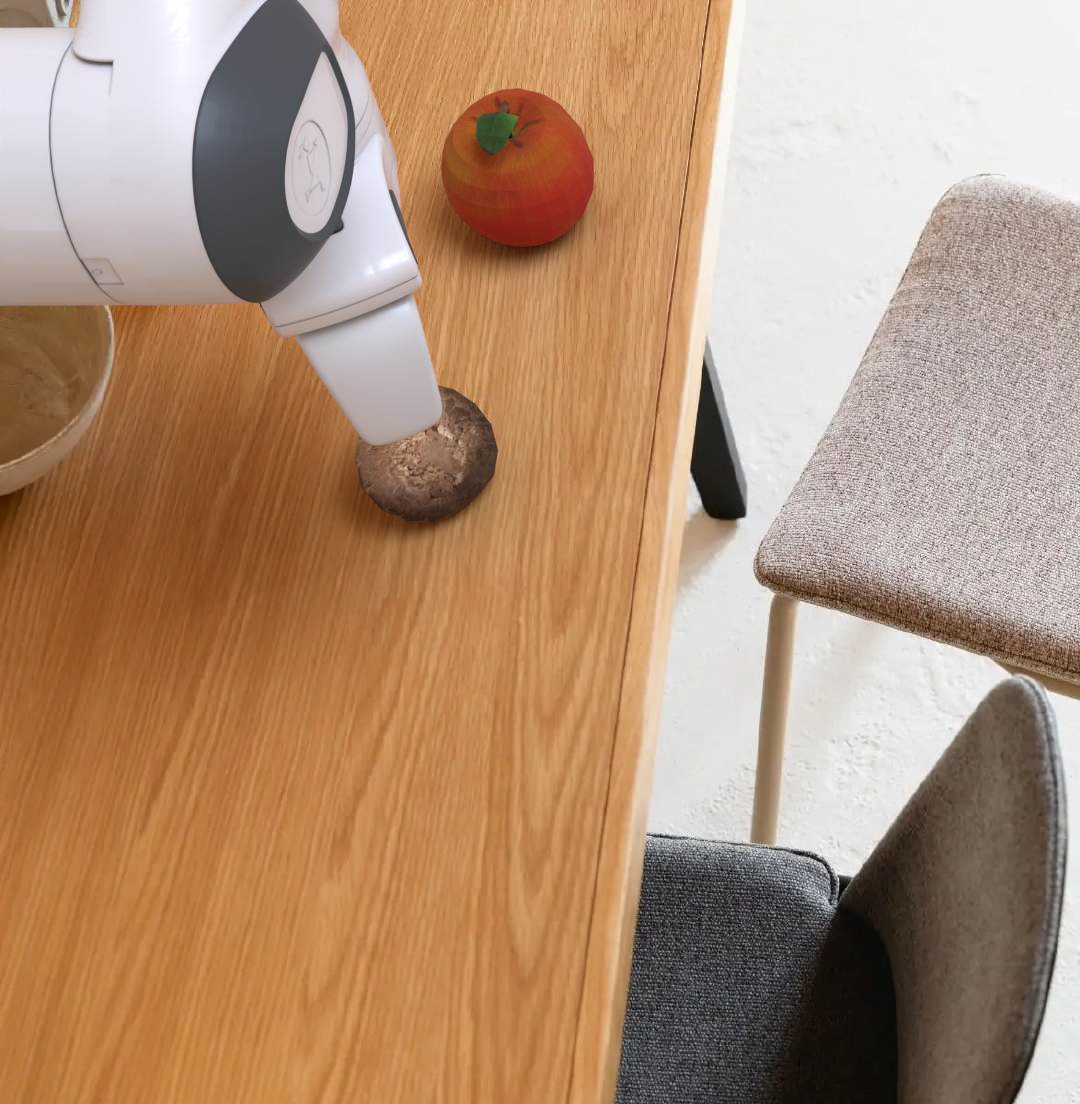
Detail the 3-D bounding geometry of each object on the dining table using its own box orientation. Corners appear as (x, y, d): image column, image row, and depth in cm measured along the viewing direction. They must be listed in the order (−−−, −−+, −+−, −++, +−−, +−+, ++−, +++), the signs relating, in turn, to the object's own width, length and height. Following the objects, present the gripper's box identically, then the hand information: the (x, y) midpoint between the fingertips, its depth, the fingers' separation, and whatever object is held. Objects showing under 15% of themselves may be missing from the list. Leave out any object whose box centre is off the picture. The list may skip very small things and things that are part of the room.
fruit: (615, 165, 99) (592, 48, 90) (589, 276, 94) (562, 164, 86) (476, 156, 100) (440, 39, 91) (444, 265, 95) (402, 153, 86)
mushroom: (339, 394, 86) (358, 377, 81) (476, 392, 90) (502, 376, 84) (350, 530, 86) (369, 523, 80) (486, 523, 90) (513, 515, 84)
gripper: (158, 30, 68) (262, 235, 80) (277, 346, 59) (374, 525, 71) (292, -12, 69) (374, 197, 81) (429, 291, 60) (499, 476, 72)
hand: (375, 352), depth 76 cm, fingers open, 8 cm apart
